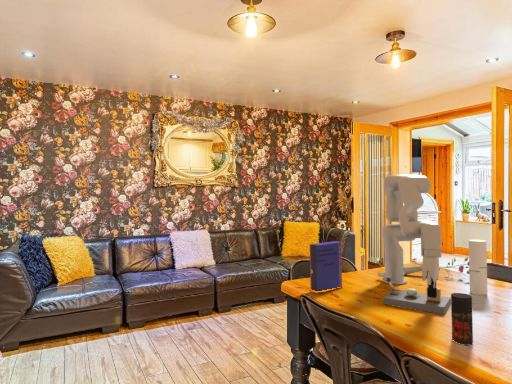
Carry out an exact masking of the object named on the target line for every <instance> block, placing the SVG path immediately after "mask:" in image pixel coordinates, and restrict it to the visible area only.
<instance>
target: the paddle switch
mask: <svg viewBox="0 0 512 384" xmlns="http://www.w3.org/2000/svg"><path fill="white" fill-rule="evenodd" d="M441 296H442V292H441V288H439V287H437V297H436V298H432V297H428V296H427V300H433V301H439V302H440V301H441Z"/></svg>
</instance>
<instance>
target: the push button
mask: <svg viewBox="0 0 512 384" xmlns="http://www.w3.org/2000/svg"><path fill="white" fill-rule="evenodd" d="M405 291H406V294H407V295H411V296H416V295H417V293H418V289H416V288H411V287H409V288H406V290H405Z"/></svg>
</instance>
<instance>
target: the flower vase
mask: <svg viewBox="0 0 512 384" xmlns="http://www.w3.org/2000/svg"><path fill="white" fill-rule="evenodd" d="M451 261H452V262H451V263H450V262H447V265H446V266H439V272H441V269H443V268H444V271H445V272H447V274H450V271H448V270H447V269H456V267H457V269H458V272H459V274H461V273H463V272H464V270H465V268H466V269H469V256H466V257H465V258H464V261H463V262H467V261H468V262H467V263H463V264H458V265H456V266H454V263H456V257H454V259H453V258H451ZM465 265H467V266H465ZM440 268H441V269H440ZM419 272H422V264H420V265H419V264H418V265H409V266H404V276H407V275H409V274H415V273H419ZM466 273H467V274H469V270H466ZM450 276H451V278H452V279H454V277H453V275H452V274H450V275H448V278H449V277H450Z"/></svg>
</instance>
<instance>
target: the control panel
mask: <svg viewBox="0 0 512 384" xmlns="http://www.w3.org/2000/svg"><path fill="white" fill-rule="evenodd" d="M394 290H395V291H392V290H391V291H389V292H388V293H387V294H386V295H384V296H383V297H382V301H383V302H382V303H383V305H384V304H389V305H388V306H390V305H394V306H393V307H395V306H400V307H399V308H401V307H406V308H405V309H407V308H411V309H410V310H413V309H416V310H415V311H419V310H422V311H421V312H425V311H427V312H426V313H431V312H433V314H437V315H444V316H445V315H446V314H447V311H448V309H449V308H451V296H444V295H441V301H440V302H439V301H433V300H427V293H423V292H417V295H416V296H411V295H407V294H406V290H404V289H403V290H402V289H395V288H394Z"/></svg>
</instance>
